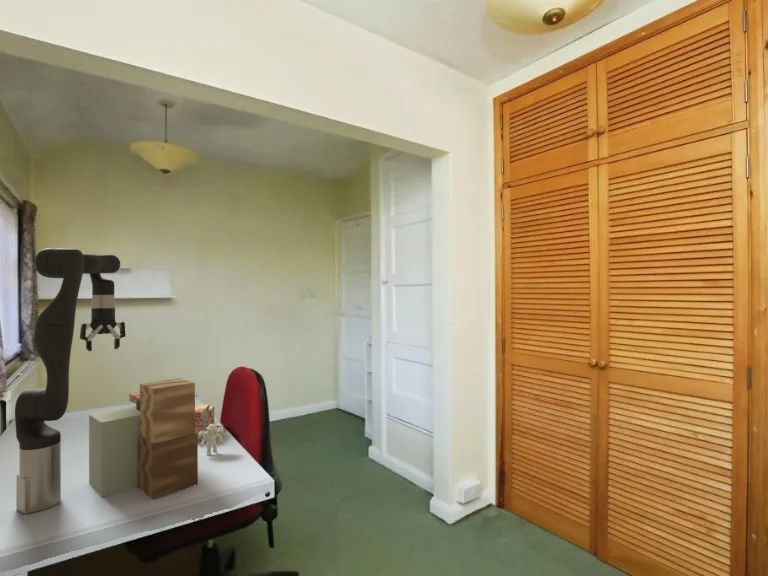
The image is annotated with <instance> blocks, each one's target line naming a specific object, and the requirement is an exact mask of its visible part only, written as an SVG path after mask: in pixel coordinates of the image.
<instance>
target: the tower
mask: <svg viewBox="0 0 768 576" xmlns="http://www.w3.org/2000/svg"><path fill="white" fill-rule="evenodd" d="M139 393H140V435H138V486H137V488H139V489H140V490H141V491H142V492H143V493H144V494H146V495H147V496H148V497H149V498H150V499H151V500H152V501H154V500H158V499H160V498H164V497H166V496H169V495H172V494H175V493H178V492H181V491H184V490H187V489H190V488H192V487H191V486H193V487H195V486H194V485H196V486H198V485H199V483H198V481H199V475H198V474H199V471H198V469H199V467H198V466H199V465H198V461H199V460H198V459H199V457H198V450H199V449H198V446H199V445H198V444H199V441H198V435H197V433H195V405H196V382H195V381H190V380H186V379H183V378H181V377H180V378H172V379H164V380H159V381H153V382H151V381H150V382H145V383H140V384H139ZM197 484H198V485H197ZM189 487H190V488H189ZM186 488H187V489H186ZM183 489H184V490H183ZM180 490H181V491H180Z"/></svg>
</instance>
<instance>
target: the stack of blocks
mask: <svg viewBox="0 0 768 576" xmlns="http://www.w3.org/2000/svg"><path fill="white" fill-rule="evenodd" d="M214 422H215V405H210V404H209V403H208V404H207V403H204V404H195V433H197V435H198V442H200V441H199V440H202V439H203V438H202V437H204V436H202V437H201V436H199V433H200V431H205V433H206V432H207V430H208V429H207V427H208V426H209V424H214ZM199 437H200V438H199Z"/></svg>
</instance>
